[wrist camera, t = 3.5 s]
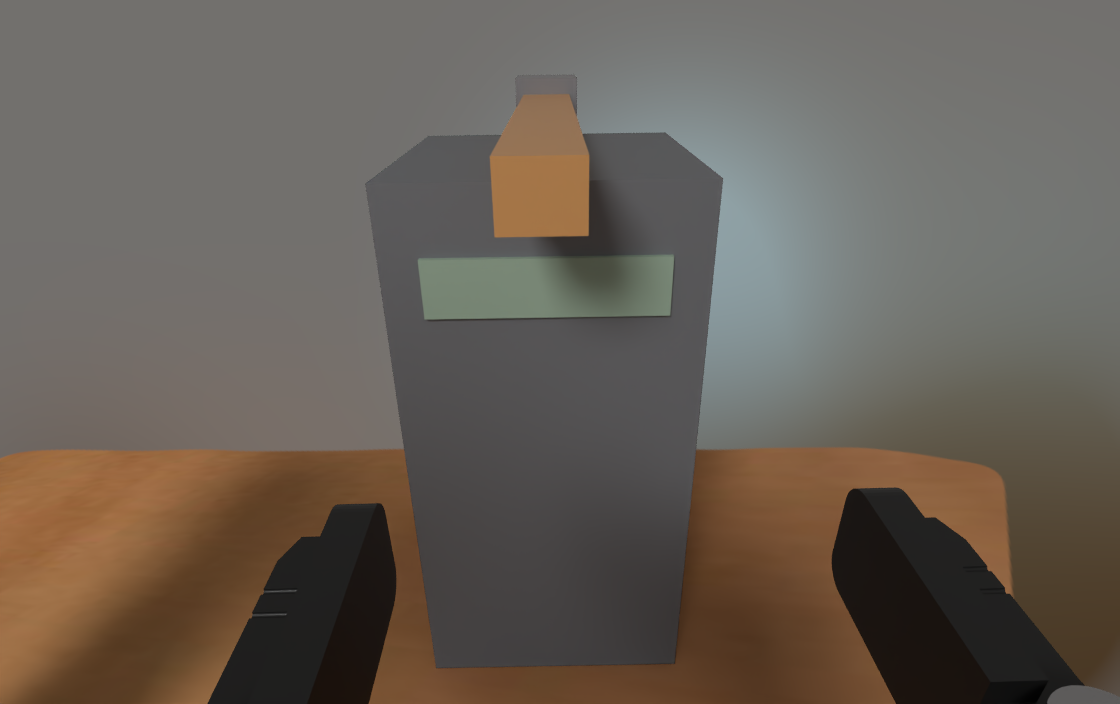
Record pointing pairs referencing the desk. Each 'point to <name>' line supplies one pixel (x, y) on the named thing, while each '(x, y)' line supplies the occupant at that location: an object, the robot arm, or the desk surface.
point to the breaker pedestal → (549, 398)
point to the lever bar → (541, 163)
